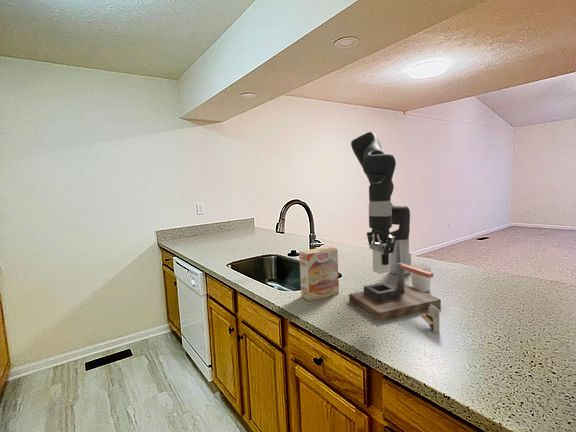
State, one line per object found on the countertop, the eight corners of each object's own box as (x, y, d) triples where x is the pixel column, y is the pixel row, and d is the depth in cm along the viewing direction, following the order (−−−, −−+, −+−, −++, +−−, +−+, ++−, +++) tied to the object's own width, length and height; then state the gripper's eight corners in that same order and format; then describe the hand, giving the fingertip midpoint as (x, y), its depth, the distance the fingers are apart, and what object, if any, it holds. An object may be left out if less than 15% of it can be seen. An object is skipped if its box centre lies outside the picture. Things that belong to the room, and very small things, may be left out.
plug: (383, 268, 117) (382, 242, 116) (392, 272, 112) (392, 245, 111) (370, 270, 115) (369, 244, 114) (379, 274, 110) (378, 246, 109)
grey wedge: (428, 334, 100) (428, 311, 99) (419, 324, 107) (418, 302, 106) (439, 334, 100) (439, 310, 99) (429, 324, 107) (429, 302, 106)
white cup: (431, 287, 140) (431, 264, 139) (430, 293, 133) (430, 269, 132) (411, 285, 143) (411, 263, 142) (410, 291, 136) (409, 268, 135)
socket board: (404, 290, 138) (403, 276, 137) (440, 307, 119) (440, 291, 118) (349, 301, 129) (348, 286, 128) (379, 321, 110) (379, 304, 110)
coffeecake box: (309, 301, 131) (307, 254, 129) (300, 296, 138) (298, 250, 136) (339, 293, 138) (338, 248, 136) (330, 289, 145) (328, 245, 142)
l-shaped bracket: (396, 290, 129) (395, 263, 128) (401, 289, 130) (400, 262, 129) (428, 304, 113) (428, 274, 112) (434, 303, 114) (434, 273, 113)
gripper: (359, 213, 117) (360, 260, 119) (383, 216, 103) (384, 269, 105) (377, 211, 119) (378, 257, 121) (403, 214, 106) (403, 266, 108)
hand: (381, 262), depth 113 cm, fingers closed on plug, 4 cm apart
